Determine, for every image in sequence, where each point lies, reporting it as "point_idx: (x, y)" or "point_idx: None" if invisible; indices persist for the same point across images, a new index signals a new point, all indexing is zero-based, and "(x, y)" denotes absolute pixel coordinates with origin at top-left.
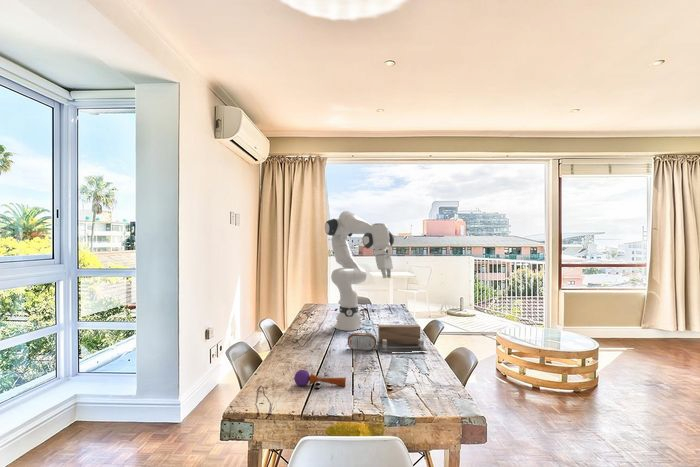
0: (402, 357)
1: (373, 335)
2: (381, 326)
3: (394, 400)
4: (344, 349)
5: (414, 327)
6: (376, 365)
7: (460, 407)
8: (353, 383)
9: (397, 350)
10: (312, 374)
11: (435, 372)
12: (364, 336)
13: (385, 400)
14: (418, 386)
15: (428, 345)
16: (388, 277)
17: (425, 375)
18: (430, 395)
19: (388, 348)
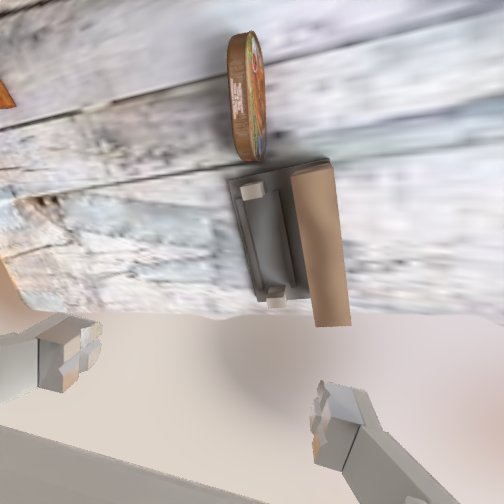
0: (214, 235)
1: (252, 150)
2: (303, 183)
3: (11, 209)
4: None
5: (312, 307)
6: (140, 168)
7: (39, 296)
8: (30, 124)
9: (239, 226)
10: None
11: (145, 291)
12: (232, 112)
13: (4, 194)
14: (74, 252)
15: None
16: (318, 394)
17: (124, 271)
18: (53, 265)
19: (237, 201)
